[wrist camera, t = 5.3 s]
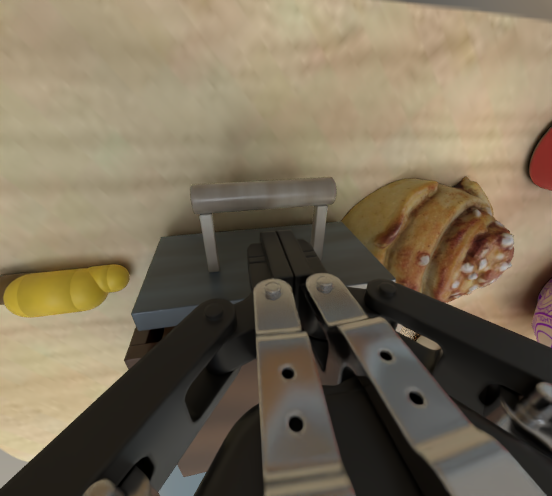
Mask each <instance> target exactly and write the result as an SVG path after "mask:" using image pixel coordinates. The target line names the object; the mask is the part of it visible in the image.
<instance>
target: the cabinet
mask: <svg viewBox="0 0 552 496" xmlns="http://www.w3.org/2000/svg"><path fill="white" fill-rule="evenodd" d="M300 324H301V328H302V323H301V321H300ZM401 329H402V325H400V324H398V326H397V328H396V331H397V332H399V333H400V331H401ZM163 333H164V328H158V329H151V330H144V331H138V329H137V327H136V328H135V331H134V334H133V337H132V339H131V342H130V345H129V348H128V351H127V353H126V356H125V359H124V361H125V363H126V365H127V367H128V369H130V368H131V367H132V366H133V365H134V364H136V363H137V362H138V361H139V360H140V359H141V358H142V357H143V356H144V355H145V354H146V353H147V352H149V351H150V350H151V349H152V348H153V347H154V346H155V345H156V344H157V343H158V342H159V341H160V340H161V339H162V337H163ZM258 403H259V391H258V372H257V359H255V360H253V361H251V362H249V363H247V364H245V365H243V366H241V369H240V372H239V373H238V375H237V376H236V378H235V379H234V381H233V382H232V384H231V385H230V387H229V388H228V390H227V391H226V393H225V394H224V396H223V397H222V399H221V400H220V402H219V403H218V405H217V406H216V407H215V409H214V410H213V412H212V413H211V415H210V416H209V418H208V419H207V421H206V422H205V424H204V425H203V427H202V428H201V430H200V431H199V433H198V434H197V436H196V437H195V439H194V440H193V441H192V443H191V444H190V446H189V447H188V449H187V450H186V452H185V453H184V455H183V456H182V458H181V459H180V461H179V462H178V464H177V465H178V467H179V469H180V471H181V473H182V475H183V477H186V476H191V475H195V474H199V473H203V472H207V470H208V469H209V467H210V465H211V463H212V461H213V459H214V458H215V456H216V454H217V452H218V450H219V448H220V447H221V445H222V443H223V441H224V439H225V438H226V436H227V434H228V433H229V431H230V430H231V429H232V427H233V426H234V424H235V423H236V422H237V421H238V420H239V419H240V418H241V417H242V416H243V415H244V414H245V413H246V412H247V411H248V410H249V409H251V408H252V407H254V406H255V405H257V404H258Z"/></svg>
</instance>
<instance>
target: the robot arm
mask: <svg viewBox="0 0 552 496" xmlns="http://www.w3.org/2000/svg"><path fill="white" fill-rule="evenodd" d="M247 261H248V275H249V282H250V288H251V293H250V295H249V296H248V297H247V298H245V299H244V300H242V301H240V302H238V303H235V304H232V303H231V302H230V301H228V300H225V299H220V298H216V299H210V300H207V301H205V302H203V303H201V304H200V305H198V306H197V307H196V308H195V309H194V310H193V311H192V312H191V313H190V314H188V315H187V316H186V317H185V318H184V319H183V320H182V321H181V322H180V323H179V324H178V325H177V326H176V327H174V328H173V329H172V330H171V331H170V332H169V333H168V334H167V335H166V336H165V337H164V338H163V339H161V340H160V341H159V342H158V343H157V344H156V345H155V346H154V347H153V348H152V349H151V350H150V351H149V352H147V353H146V354H145V355H144V356H143V357H142V358H141V359H140V360H139V361H138V362H137V363H136V364H134V365H133V366H132V367H131V368H130V369H129V370H128V371H127V372H126V373H125V374H124V375H123V376H122V377H120V378H119V379H118V380H117V381H116V382H115V383H114V384H113V385H112V386H111V387H110V388H109V389H108V390H106V391H105V392H104V393H103V394H102V395H101V396H100V397H99V398H98V399H97V400H96V401H95V402H93V403H92V404H91V405H90V406H89V407H88V408H87V409H86V410H85V411H84V412H83V413H82V414H81V415H79V416H78V417H77V418H76V419H75V420H74V421H73V422H72V423H71V424H70V425H69V426H68V427H67V428H65V429H64V430H63V431H62V432H61V433H60V434H59V435H58V436H57V437H56V438H55V439H54V440H52V441H51V442H50V443H49V444H48V445H47V446H46V447H45V448H44V449H43V450H42V451H41V452H40V453H38V454H37V455H36V456H35V457H34V458H33V459H32V460H31V461H30V462H29V463H28V464H27V465H26V466H24V467H23V468H22V469H21V470H20V471H19V472H18V473H17V474H16V475H15V476H14V477H13V478H12V479H10V480H9V481H8V482H7V483H6V484H5V485H4V486H3V487H2V488H1V489H0V496H160V495H159V493H158V492H159V490H160V489H161V487H162V486H163V484H164V483H165V481H166V480H167V478H168V477H169V476H170V474H171V473H172V471H173V469H174V468H175V467H176V465H177V464H178V462H179V461H180V459H181V458H182V456H183V455H184V453H185V452H186V450H187V449H188V447H189V446H190V444H191V443H192V441H193V440H194V439H195V437H196V436H197V434H198V433H199V431H200V430H201V428H202V427H203V425H204V424H205V422H206V421H207V419H208V418H209V416H210V415H211V413H212V412H213V410H214V409H215V407H216V406H217V405H218V403H219V402H220V400H221V399H222V397H223V396H224V394H225V393H226V391H227V390H228V388H229V387H230V385H231V384H232V382H233V381H234V379H235V378H236V376H237V375H238V373H239V372H240V369H241V366H243V365H245V364H247V363H249V362H251V361H253V360H255V359H257V372H258V391H259V403H258V404H257V405H255V406H254V407H252V408H251V409H249V410H248V411H247V412H246V413H245V414H244V415H243V416H242V417H241V418H240V419H239V420H238V421H237V422H236V423H235V424H234V426H233V427H232V429H231V430H230V431H229V433H228V434H227V436H226V438H225V439H224V441H223V443H222V445H221V447H220V448H219V450H218V452H217V454H216V456H215V458H214V459H213V461H212V463H211V465H210V467H209V469H208V470H207V472H206V474H205V476H204V478H203V480H202V481H201V483H200V485H199V487H198V489H197V491H196V492H195V494H194V496H552V348H551V347H548V346H546V345H544V344H541V343H539V342H536V341H534V340H532V339H529V338H527V337H525V336H522V335H520V334H517V333H515V332H513V331H510V330H508V329H505V328H503V327H501V326H498V325H496V324H494V323H491V322H489V321H486V320H484V319H482V318H479V317H477V316H475V315H472V314H470V313H467V312H465V311H463V310H460V309H458V308H456V307H453V306H451V305H448V304H446V303H444V302H441V301H439V300H436V299H434V298H432V297H429V296H427V295H425V294H422V293H420V292H417V291H415V290H413V289H410V288H408V287H406V286H403V285H401V284H398V283H396V282H394V281H391V280H387V279H374V280H371V281H370V282H369V283H368V284H367V287H366V289H363V288H353V287H347V286H345V285H344V284H343V282H342V281H341V280H340V279H339V278H338V277H336V276H334V275H332V274H328V272H327V271H326V269H325V267H324V266H323V264H322V262H321V261H320V259H319V257H317V254H316V252H315V251H314V249H313V247H312V245H311V244H310V243H309V242H307V241H306V240H304V239H296V237H295V235H294V233H293V231H292V230H279V231H268V232H260V243H250V245H249V247H248V249H247ZM300 321H301V323H302V328H301V324H300ZM398 324H400V325H402V326H404V327H406V328H408V329H410V330H412V331H414V332H416V333H418V334H420V335H422V336H424V337H426V338H428V339H430V340H432V341H434V342H436V343H437V344H438V345H439V346H440V347H441V348H440V349H439V350H432V349H429V348H427V347H425V346H423V345H421V344H419V343H418V342H416V341H414V340H412V339H410V338H408V337H406V336H404V335H402V334H400V333H399V332H397V331H396V328H397V326H398Z"/></svg>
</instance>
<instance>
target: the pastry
mask: <svg viewBox="0 0 552 496" xmlns="http://www.w3.org/2000/svg"><path fill="white" fill-rule="evenodd" d="M341 222H343V223H344V225H345V226H346V227H347V228H348V229H349V230H350V231H351V232H352V233H353V234H354V235H355V236H356V237H357V238H358V239H359V240H360V241H361V242H362V244H363V245H364V246H365V247H366V248H367V249H368V250H369V251H370V252H371V253H372V254H373V255H374V256H375V257H376V258H377V259H378V260H379V261H380V263H381V264H382V265H383V266H384V267H385V268H386V269H387V270H388V271H389V272H390V273H391V274H392V275H393V276H394V277H395V278H396V283H398V284H401V285H403V286H406V287H408V288H410V289H413V290H415V291H417V292H420V293H422V294H425V295H427V296H429V297H432V298H434V299H436V300H439V301H441V302H444V303H446V302H449V301H452V300H454V299H456V298H459V297H461V296H462V295H468V294H470V293H471V292H472V291H473V290H475V289H477V288H483V287H485V286H487V285H490V284H491V283H493V282H494V281H496V280H498V279H499V277H500V276H501V275H502V273H503V272H504V271H505V270H506V269H508V268H510V267H511V266H512V265H511V263H510V262H511V260H512V258H513V254H514V247H513V244H514V240H513V237H514V235H512V234H510V231H509V230H507V229H506V228H505V227H504V225H502V224H501V223H500V222H498V221H497V220H496V219H495V218H494V217H493V209H492V206H491V204H490V202H489V200H488V198H487V196H486V195H485V193H484V192H483V190H482V189H481V187H480V186H479V185H478V184H477V183H476V182H473V181H470V180H469V179H468V178H467V177H464V178H463V179H462V181H460V182H459V183H458V184H457V185H456V186H454V187H448V186H444V185H441V184H438V182H436V181H428V180H422V179H415V178H411V179H402V180H398V181H395V182H392V183H390V184H388V185H386V186H384V187H382V188H380V189H378V190H376V191H375V192H373V193H372V194H370V195H369V196H367V197H366V198H364V199H363V200H362V201H360V202H359V203H358V204H356V205H355V206H354V207H353V208H352V209H351V210H350V211H349V212H348V213H347V215H346V216H345V217H344V218H343V220H342V221H341Z"/></svg>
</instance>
